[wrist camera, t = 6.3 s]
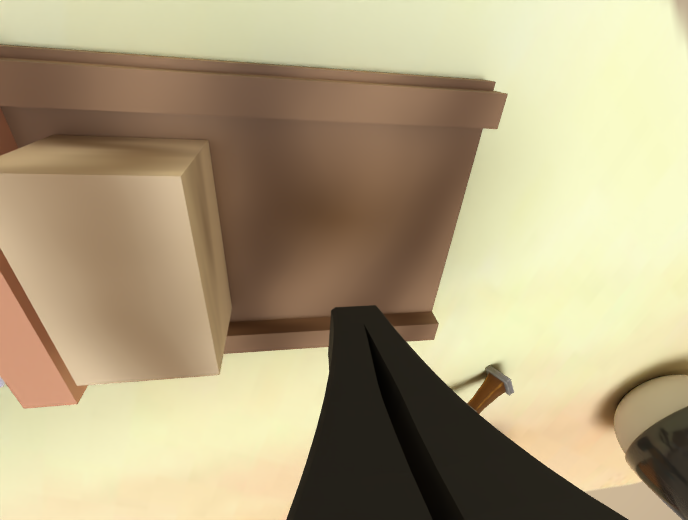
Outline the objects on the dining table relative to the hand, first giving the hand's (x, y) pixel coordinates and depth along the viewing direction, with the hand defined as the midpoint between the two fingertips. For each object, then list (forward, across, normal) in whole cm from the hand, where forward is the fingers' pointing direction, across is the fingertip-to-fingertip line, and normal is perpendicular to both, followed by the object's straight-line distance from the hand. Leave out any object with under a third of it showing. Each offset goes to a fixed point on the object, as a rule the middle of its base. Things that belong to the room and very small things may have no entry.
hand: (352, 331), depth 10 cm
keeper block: (+6, +7, 0) cm, 9 cm away
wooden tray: (+7, +3, 0) cm, 8 cm away
